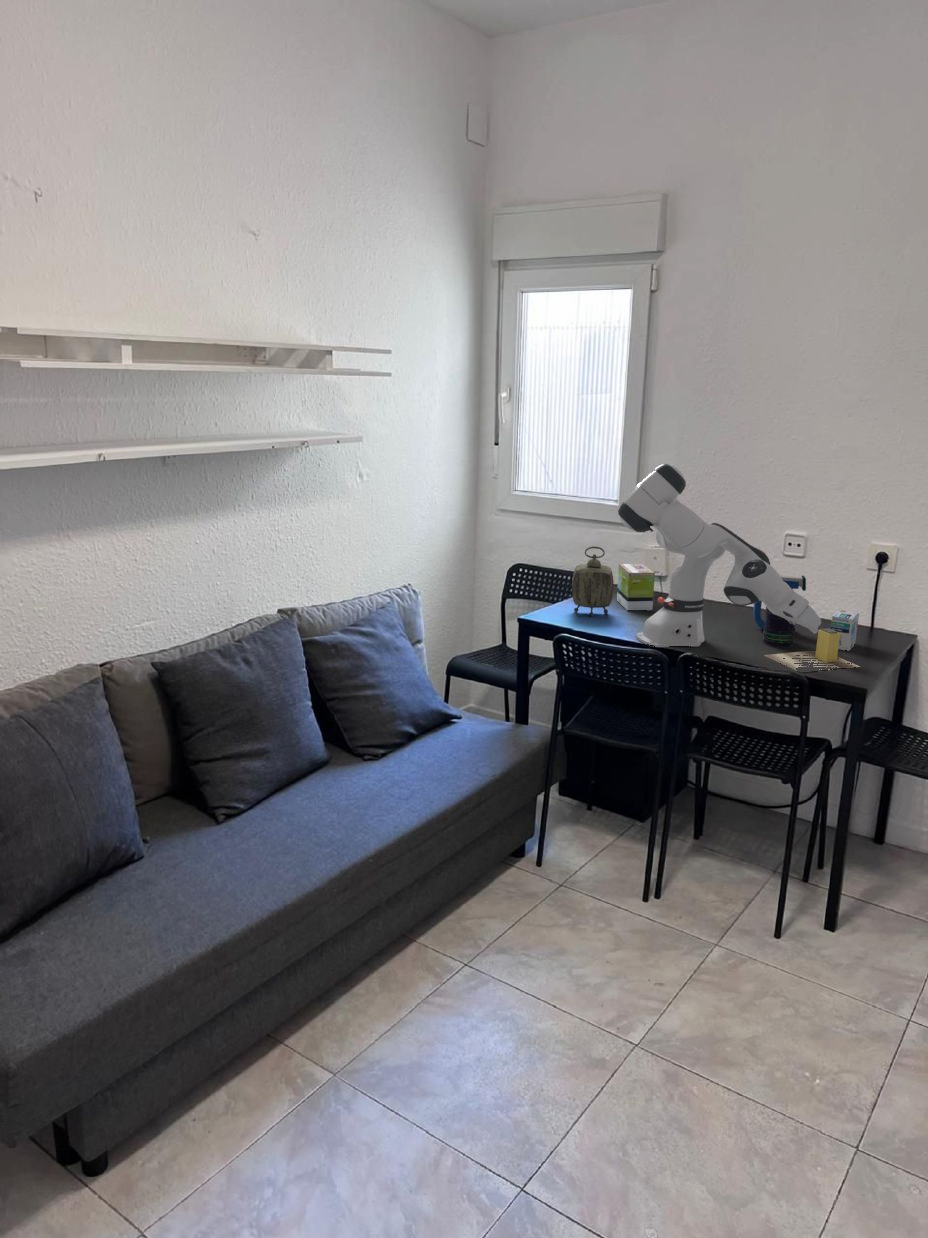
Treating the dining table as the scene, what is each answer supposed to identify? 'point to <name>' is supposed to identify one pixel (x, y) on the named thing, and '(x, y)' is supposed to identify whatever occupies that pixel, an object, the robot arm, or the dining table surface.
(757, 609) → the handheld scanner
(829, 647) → the yellow rectangular block
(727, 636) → the dining table surface
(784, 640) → the storage jar
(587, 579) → the tabletop clock
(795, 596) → the robot arm
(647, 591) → the tea box
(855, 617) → the light bulb box
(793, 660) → the plywood sheet
